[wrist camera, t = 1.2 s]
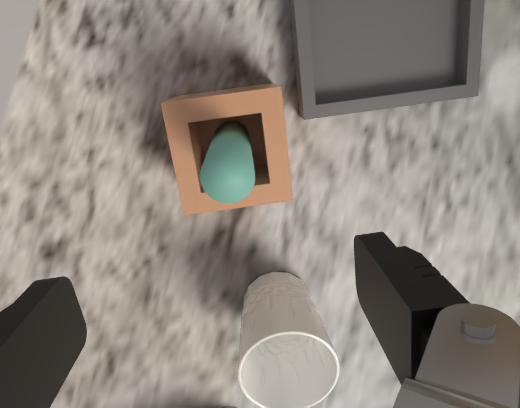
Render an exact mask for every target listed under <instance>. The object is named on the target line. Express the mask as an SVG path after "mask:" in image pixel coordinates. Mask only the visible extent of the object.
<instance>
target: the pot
mask: <svg viewBox="0 0 520 408" xmlns="http://www.w3.org/2000/svg"><path fill="white" fill-rule="evenodd" d="M161 108H162V113H163V118H164V122H165V127H166V132H167V136H168V141H169V146H170V151H171V155H172V160H173V165H174V170H175V174H176V179H177V184H178V189H179V193H180V198H181V203H182V208H183V212H184V215H190V214H197V213H205V212H212V211H219V210H226V209H234V208H241V207H248V206H256V205H263V204H270V203H277V202H285V201H292V200H293V195H292V186H291V176H290V166H289V157H288V147H287V137H286V128H285V118H284V108H283V99H282V89H281V86H279V85H277V84H274V83H267V84H259V85H252V86H245V87H237V88H230V89H223V90H215V91H208V92H201V93H193V94H186V95H179V96H175V97H173V98H171V99H168V100H166V101H164V102H161ZM227 121H236V122H239V123H241V124H242V125H243V126H245V128H246V129H247V131H248V133H249V137H250V143H251V150H252V157H253V163H254V170H255V183H254V186H253V189H252V191H251V192H250V193H249V194H248V196H246V197H245V198H244V199H242V200H241V201H238V202H235V203H221V202H218V201H215V200H213V199H212V198H210V197H209V196H208V195H207V194H206V193H205V191H204V190H203V188H202V185H201V182H200V171H201V167H202V165H203V162H204V160H205V157H206V154H207V152H208V149H209V147H210V144H211V141H212V139H213V136H214V134H215V131H216V129H217V128H218V127H219V126H220V125H221V124H222V123H224V122H227Z"/></svg>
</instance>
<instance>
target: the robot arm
mask: <svg viewBox="0 0 520 408" xmlns="http://www.w3.org/2000/svg"><path fill="white" fill-rule="evenodd" d="M354 256H355V276H356V289H357V295H358V299H359V302H360V305H361V307H362V309H363V311H364V313H365V315H366V317H367V319H368V321H369V323H370V325H371V327H372V329H373V331H374V333H375V335H376V337H377V339H378V341H379V342H380V344H381V346H382V348H383V350H384V352H385V354H386V356H387V358H388V360H389V362H390V364H391V366H392V368H393V370H394V372H395V374H396V376H397V378H398V380H399V381H400V383H401V385H402V386H401V388H400V391H399V393H398V396H397V398H396V401H395V404H394V406H393V408H520V327H519V325H518V324H517V323H516V322H515V321H514V320H513V319H512V318H511V317H509V316H508V315H506V314H504V313H503V312H501V311H498V310H496V309H494V308H491V307H487V306H484V305H478V304H470V303H469V302H468V301H467V300H466V299H465V298H464V297H463V296H462V295H461V294H460V293H459V292H458V291H457V290H456V289H455V288H454V287H453V286H452V284H451V283H450V282H449V281H448V280H447V279H446V278H445V277H444V276H443V275H442V276H441V275H440V272H439V271H438V270H437V269H436V268H435V267H434V266H433V267H432V264H431V263H430V262H429V261H428V260H427V259H426V258H425V257H424V256H423V255H422V254H421V253H418V252H416V251H414V250H412V249H410V248H408V247H406V246H403V247H396V246H395V245H394V244H393V242H392V241H391V240H390V239H389V238H388V237H387V236H386V235H385V233H384V232H377V233H369V234H362V235H356V236H355V238H354ZM86 336H87V329H86V323H85V320H84V317H83V314H82V311H81V308H80V305H79V303H78V300H77V297H76V294H75V291H74V288H73V285H72V283H71V281H70V280H69V279H68V278H67V277H57V278H50V279H43V280H36V281H34V282H33V283H32V284H31V285H30V286H29V287H28V288H27V289H26V290H25V291H24V293H23V294H22V295H21V296H20V297H19V298H18V299H17V300H16V301H15V302H14V303H13V304H11V305H10V306H8V307H7V308H5V309H4V310H2V311H1V312H0V408H50V406H51V404H52V403H53V401H54V399H55V397H56V395H57V394H58V392H59V390H60V388H61V386H62V385H63V383H64V381H65V379H66V377H67V376H68V374H69V372H70V370H71V369H72V367H73V365H74V363H75V361H76V360H77V358H78V356H79V354H80V352H81V351H82V349H83V347H84V345H85V342H86Z"/></svg>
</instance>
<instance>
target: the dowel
mask: <svg viewBox="0 0 520 408" xmlns="http://www.w3.org/2000/svg"><path fill="white" fill-rule="evenodd" d="M200 182H201V185H202V188H203V190H204V191H205V193H206V194H207V195H208V196H209V197H210V198H212V199H213V200H215V201H218V202H221V203H235V202H238V201H241V200H242V199H244V198H245V197H246V196H248V194H249V193H250V192H251V191H252V189H253V186H254V183H255V170H254V163H253V157H252V150H251V143H250V137H249V133H248V131H247V129H246V128H245V126H243V125H242V124H241V123H239V122H236V121H227V122H224V123H222V124H221V125H220V126H219V127H218V128H217V129H216V131H215V134H214V136H213V139H212V141H211V144H210V147H209V149H208V152H207V154H206V157H205V160H204V162H203V165H202V167H201V171H200Z"/></svg>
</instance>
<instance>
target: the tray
mask: <svg viewBox="0 0 520 408" xmlns="http://www.w3.org/2000/svg"><path fill="white" fill-rule="evenodd" d="M289 4H290V15H291V26H292V38H293V49H294V60H295V71H296V82H297V93H298V104H299V115H300V117H302V118H303V119H304V120H306V119H313V118H320V117H327V116H335V115H342V114H349V113H357V112H364V111H371V110H379V109H386V108H393V107H401V106H408V105H415V104H423V103H430V102H437V101H445V100H452V99H459V98H466V97H474V96H478V88H479V73H480V58H481V43H482V28H483V13H484V0H289Z"/></svg>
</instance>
